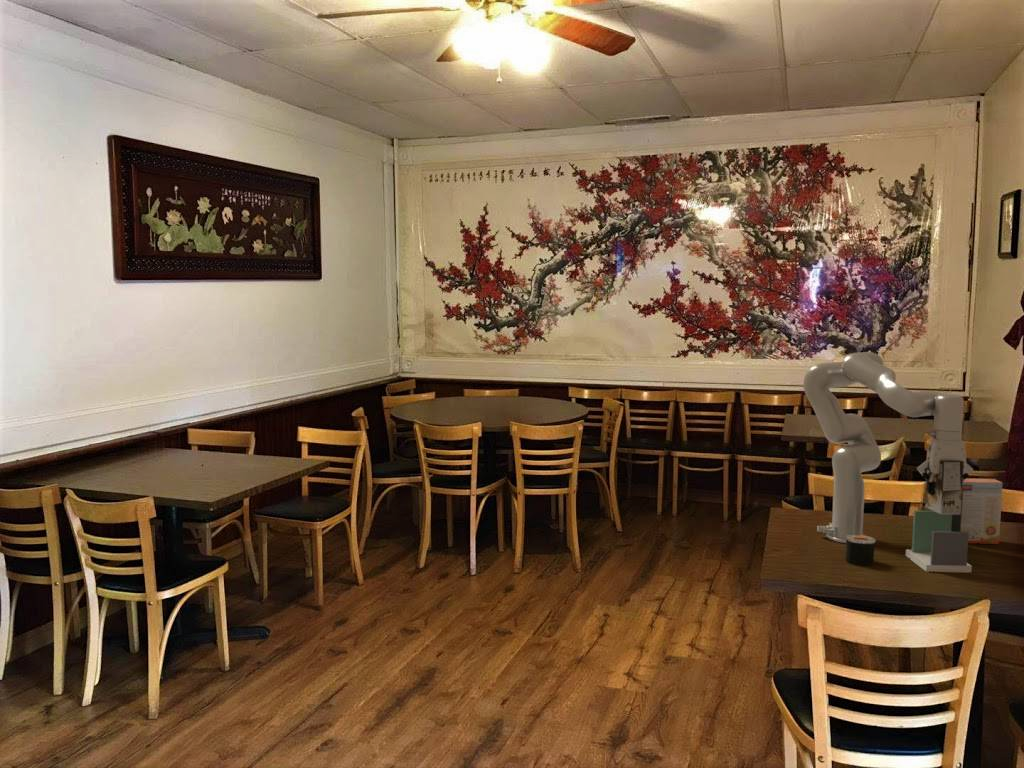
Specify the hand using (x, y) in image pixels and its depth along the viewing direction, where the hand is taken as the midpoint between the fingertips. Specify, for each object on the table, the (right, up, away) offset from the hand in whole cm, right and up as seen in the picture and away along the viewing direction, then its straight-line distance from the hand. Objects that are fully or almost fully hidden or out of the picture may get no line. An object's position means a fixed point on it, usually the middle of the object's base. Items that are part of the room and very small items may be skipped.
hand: (943, 493), depth 253 cm
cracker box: (+23, -19, +27) cm, 40 cm away
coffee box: (0, -5, +1) cm, 5 cm away
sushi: (-23, -22, +5) cm, 32 cm away
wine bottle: (+12, -20, +21) cm, 31 cm away
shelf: (0, -22, +3) cm, 22 cm away
